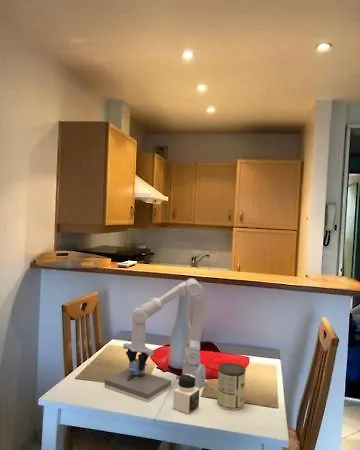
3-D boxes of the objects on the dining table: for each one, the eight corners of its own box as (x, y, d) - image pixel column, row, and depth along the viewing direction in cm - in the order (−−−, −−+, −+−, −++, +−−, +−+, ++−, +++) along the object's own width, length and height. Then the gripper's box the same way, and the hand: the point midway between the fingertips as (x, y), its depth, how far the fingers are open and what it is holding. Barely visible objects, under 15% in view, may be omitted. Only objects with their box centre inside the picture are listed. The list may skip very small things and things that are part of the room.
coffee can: (218, 396, 164) (220, 361, 163) (244, 400, 161) (246, 364, 161) (215, 408, 154) (216, 371, 153) (242, 412, 151) (244, 374, 151)
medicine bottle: (189, 414, 148) (190, 381, 148) (172, 408, 152) (174, 376, 151) (199, 407, 154) (200, 375, 154) (182, 401, 158) (184, 370, 157)
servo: (147, 369, 175) (147, 358, 175) (133, 376, 167) (133, 365, 167) (139, 367, 178) (140, 356, 177) (125, 374, 169) (126, 363, 169)
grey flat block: (171, 387, 170) (171, 380, 170) (147, 402, 156) (148, 394, 156) (129, 374, 181) (129, 367, 181) (104, 386, 168) (104, 379, 168)
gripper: (119, 335, 173) (117, 367, 173) (146, 342, 165) (145, 376, 165) (129, 331, 179) (128, 362, 179) (156, 338, 171) (155, 370, 171)
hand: (137, 368), depth 173 cm, fingers closed on servo, 4 cm apart
